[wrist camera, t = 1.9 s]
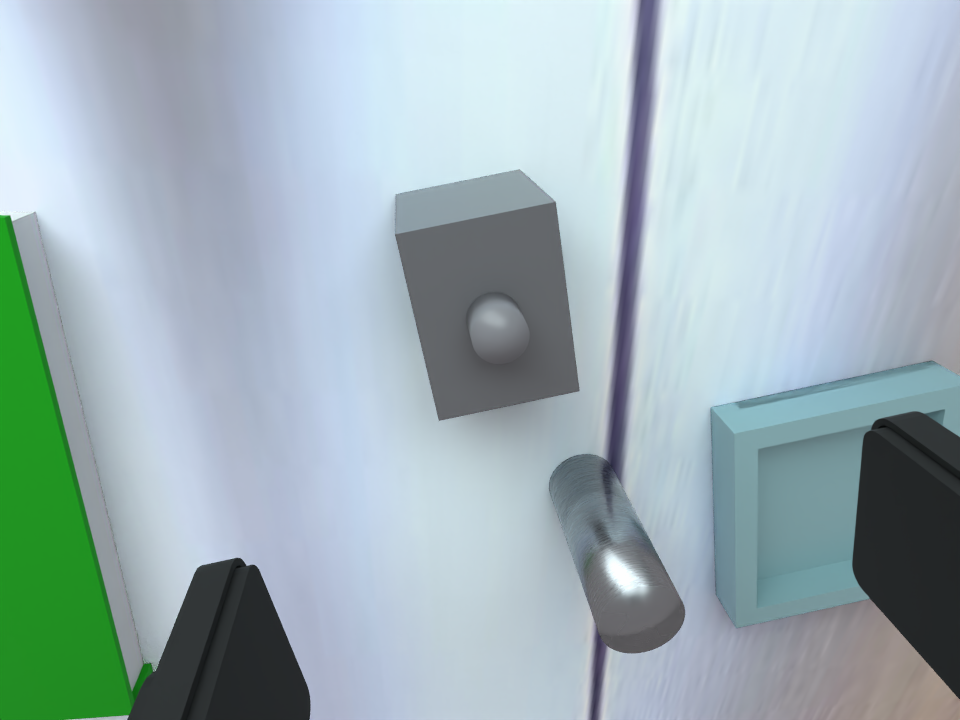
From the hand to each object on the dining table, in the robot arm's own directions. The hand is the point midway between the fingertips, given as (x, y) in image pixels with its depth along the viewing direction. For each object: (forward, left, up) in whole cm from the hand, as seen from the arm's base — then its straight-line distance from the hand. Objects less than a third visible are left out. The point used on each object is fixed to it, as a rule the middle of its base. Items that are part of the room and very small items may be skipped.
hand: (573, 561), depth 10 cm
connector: (0, 0, -16) cm, 16 cm away
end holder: (-14, +14, -16) cm, 26 cm away
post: (-3, +11, -16) cm, 20 cm away
